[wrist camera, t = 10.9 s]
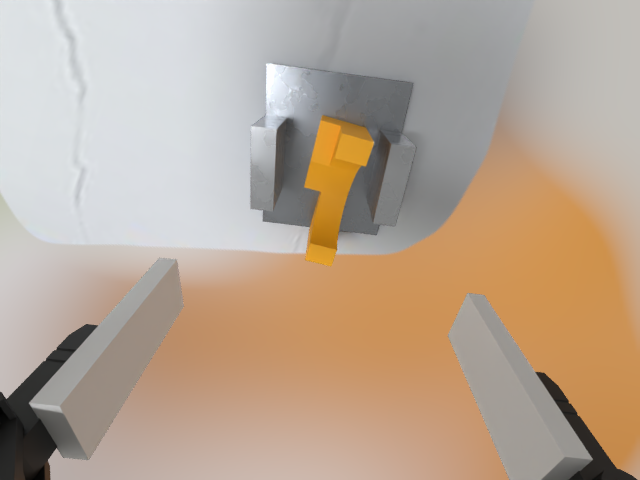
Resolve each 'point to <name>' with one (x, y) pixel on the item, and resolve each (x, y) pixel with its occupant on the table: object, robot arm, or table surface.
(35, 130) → the table surface
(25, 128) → the table surface
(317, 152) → the orange angled block
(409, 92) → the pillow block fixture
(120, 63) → the table surface
